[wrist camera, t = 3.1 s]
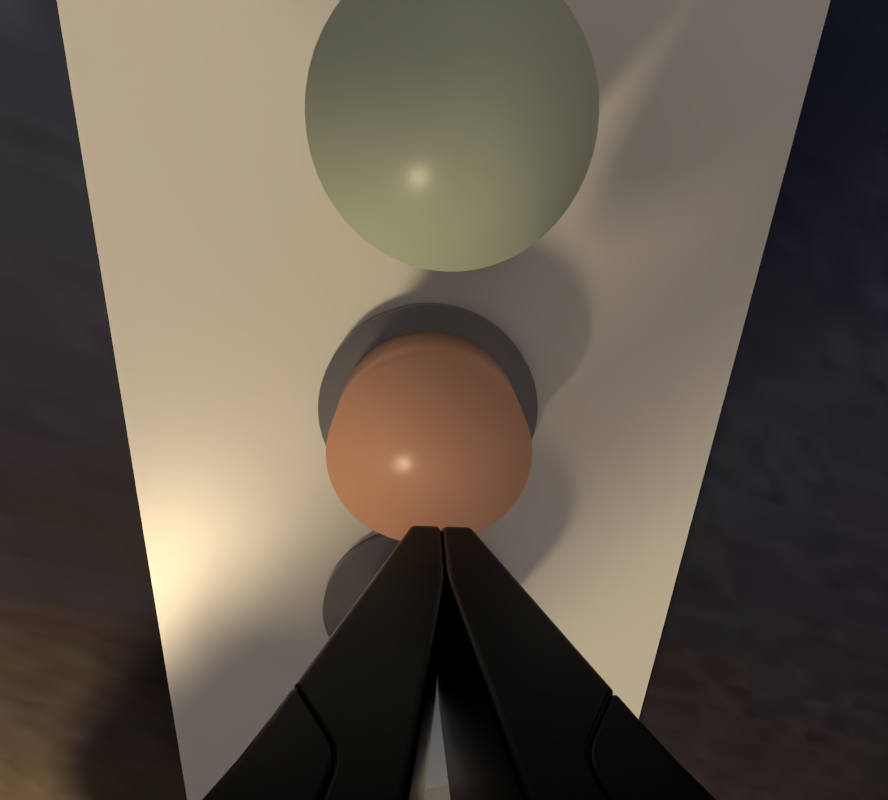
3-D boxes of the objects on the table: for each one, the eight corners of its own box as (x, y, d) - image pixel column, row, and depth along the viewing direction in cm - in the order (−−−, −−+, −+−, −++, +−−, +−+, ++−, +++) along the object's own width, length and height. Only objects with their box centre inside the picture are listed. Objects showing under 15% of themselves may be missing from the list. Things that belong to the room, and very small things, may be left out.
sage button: (548, 259, 10) (576, 279, 9) (328, 246, 10) (309, 264, 8) (581, 0, 9) (623, -42, 7) (325, -22, 9) (300, -72, 7)
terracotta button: (506, 496, 14) (520, 546, 12) (340, 490, 14) (327, 541, 12) (526, 335, 12) (544, 366, 10) (338, 326, 12) (323, 355, 10)
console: (597, 753, 21) (617, 823, 19) (210, 749, 20) (183, 822, 18) (770, 21, 12) (846, -11, 10) (105, -35, 12) (30, -82, 9)
